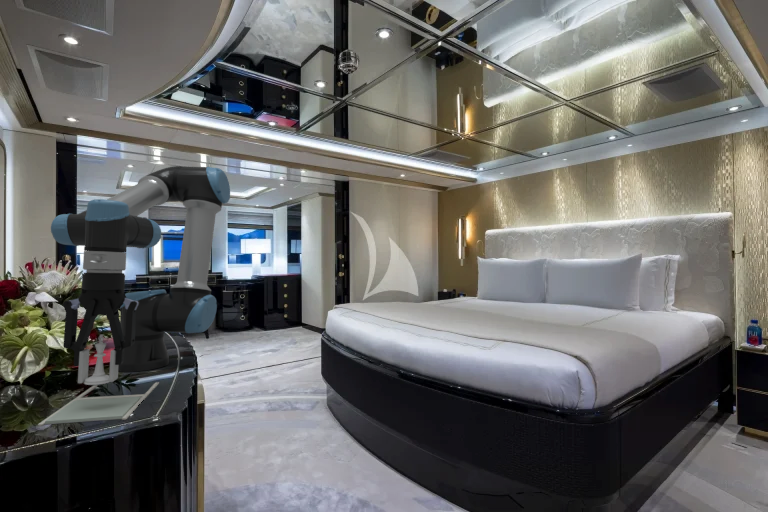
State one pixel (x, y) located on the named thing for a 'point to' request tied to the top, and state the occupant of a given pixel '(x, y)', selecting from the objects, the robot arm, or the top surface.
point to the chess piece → (98, 366)
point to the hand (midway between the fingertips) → (98, 380)
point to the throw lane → (97, 408)
